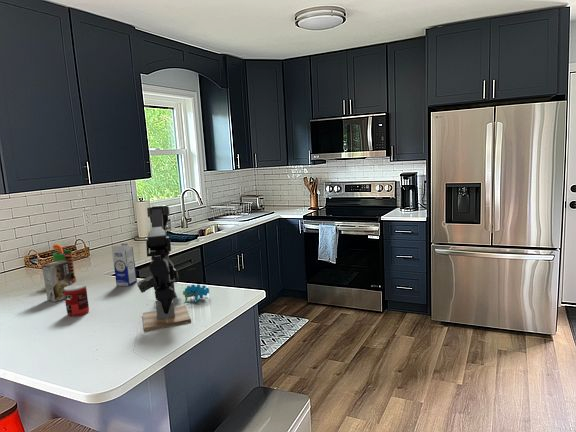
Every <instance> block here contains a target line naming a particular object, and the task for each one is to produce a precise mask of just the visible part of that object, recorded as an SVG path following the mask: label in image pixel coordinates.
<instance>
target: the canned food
mask: <svg viewBox="0 0 576 432" xmlns="http://www.w3.org/2000/svg"><path fill="white" fill-rule="evenodd" d="M64 296H65V298H64V300H65V307H66V309H65V310H66V314H67V316H69V317H79V316H83V315H86V314H87V313H89V311H90V306H89V298H88V291H87V286H86V283H75V284H74V283H73V284H72V285H70V286H67V287H65V288H64Z"/></svg>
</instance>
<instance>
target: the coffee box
mask: <svg viewBox="0 0 576 432" xmlns="http://www.w3.org/2000/svg"><path fill="white" fill-rule="evenodd" d="M41 268H42V274H43V275H42V276H43V280H44V281H43V282H44V286H45V288H44V289H45V293H46V299H47V301H49V300H51V302H54V301H56V302H58V300H59V301H61V300H65V296H64V288H65V287H67V286H70V285H73V283H72V279H71V273H70V267H69V261H63V260H60V261H56V262H54V261H53V262H49V263H45V264H42V265H41Z"/></svg>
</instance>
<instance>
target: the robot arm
mask: <svg viewBox="0 0 576 432" xmlns="http://www.w3.org/2000/svg"><path fill="white" fill-rule="evenodd" d="M146 210H147V217H148V218H150V219H149V220H150V223H151V229H150V231H148V233H147V238H146V239H145V242H146V245H145V246H146V247H145V248H146V257H147V258H148V257H150V259H151V260H150V264H149V271H150V273H151V275H150V276H147V277H146V278H144V279H141V280H139V281H137V282H136V286H137V287H138V290H140V293H145V292H146V291H148V290H151V288H153V290H154V297H155V301H160V302H161V304H162V307H163V310H164V313H165V314H168V312H169V309H170V305H171V302H172V300H173V301H174V298H177V297H178V295H177V292H176V289H175V283H178V282H179V273H178V271H177V270H176V268H174V267H175V265H174V262H172V260H170V257H169V256H170V252H171V251H172V245H171V239H170V237H169V236H167V230H166V229H167V228H166V227H167V224H168V222H169V216H170V214H171V213H170V207H169V206H168V205H165V204H156V205H151V206H149V207H146Z"/></svg>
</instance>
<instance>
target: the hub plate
mask: <svg viewBox="0 0 576 432" xmlns="http://www.w3.org/2000/svg"><path fill="white" fill-rule="evenodd" d="M174 312H175V317H170V318H165V319H160V320H158V318H157V312H156V310H151V311H146V312H142V320H143V331H144V332H146V331H147V332H148V331H152V330H157V329H163V328H166V327H168V328H169V327H174V326H178V325H184V324H188V323H189V324H190V323H192V318H191V316H190V313H189V310H188V309H187V306H186V305H180V306H179V305H178V306H174Z"/></svg>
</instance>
